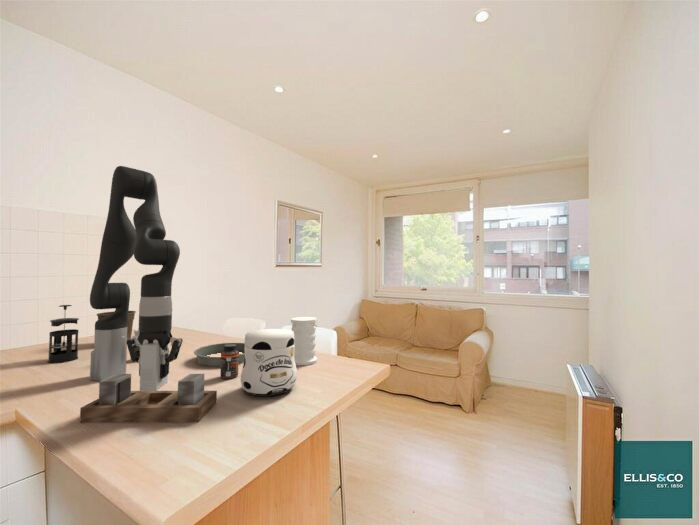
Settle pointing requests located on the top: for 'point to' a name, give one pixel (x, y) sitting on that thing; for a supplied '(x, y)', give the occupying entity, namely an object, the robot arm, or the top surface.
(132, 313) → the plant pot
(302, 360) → the decorative container
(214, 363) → the cake pan
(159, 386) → the skincare box
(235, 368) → the supplement bottle
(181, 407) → the wooden slotted rack
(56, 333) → the french press
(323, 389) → the top surface
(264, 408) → the top surface
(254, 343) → the milk container
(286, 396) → the top surface
